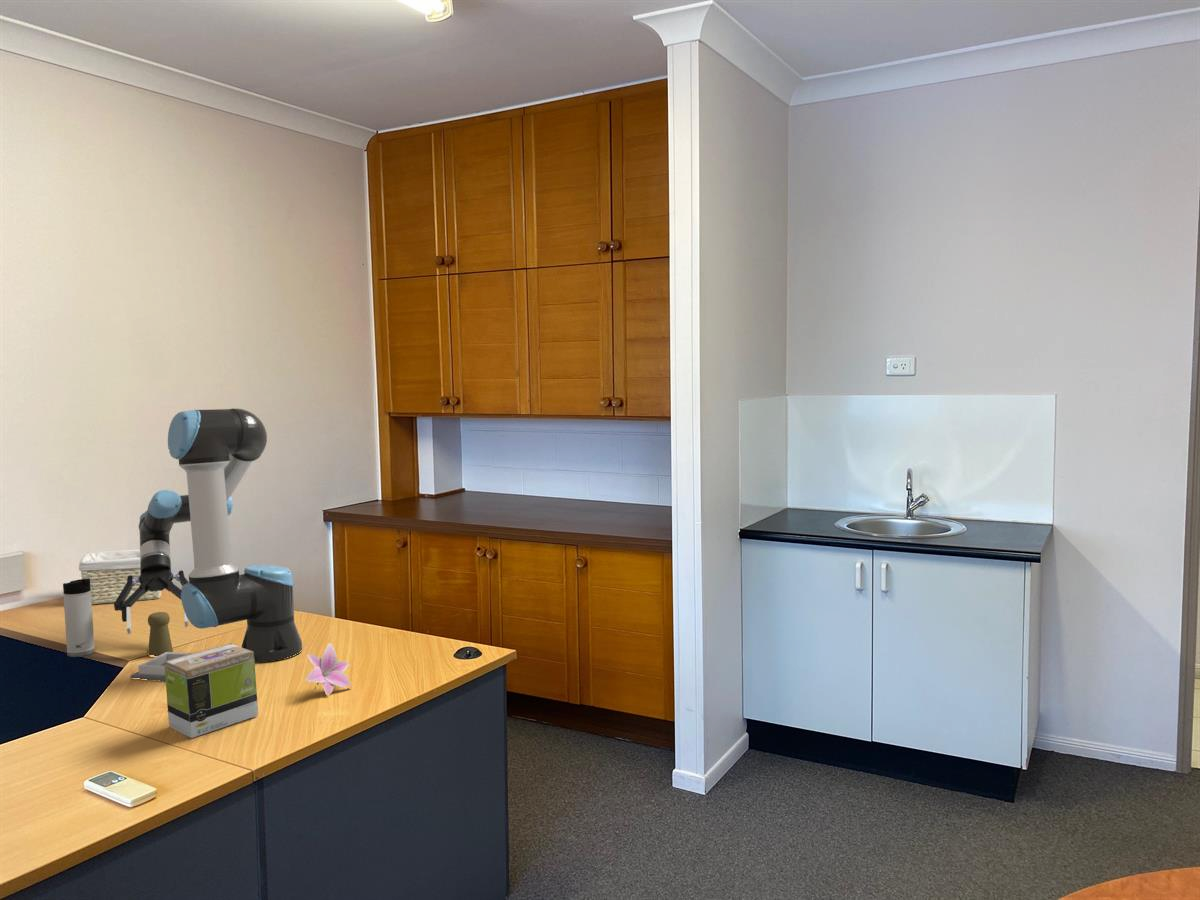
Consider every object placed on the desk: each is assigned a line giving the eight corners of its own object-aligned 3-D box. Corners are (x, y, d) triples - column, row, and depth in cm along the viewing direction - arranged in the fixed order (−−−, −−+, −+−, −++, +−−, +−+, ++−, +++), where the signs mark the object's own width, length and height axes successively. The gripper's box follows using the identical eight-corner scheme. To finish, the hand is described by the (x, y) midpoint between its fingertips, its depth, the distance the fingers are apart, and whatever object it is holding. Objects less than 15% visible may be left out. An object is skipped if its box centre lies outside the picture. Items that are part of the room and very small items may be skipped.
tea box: (235, 706, 198) (232, 641, 196) (259, 717, 191) (256, 650, 190) (167, 727, 186) (163, 659, 185) (190, 740, 180) (186, 669, 178)
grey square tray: (211, 664, 225) (211, 652, 225) (179, 682, 212) (178, 670, 212) (165, 661, 227) (165, 650, 227) (130, 679, 215) (130, 667, 214)
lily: (297, 706, 200) (313, 673, 197) (289, 671, 209) (305, 639, 207) (347, 710, 207) (363, 678, 204) (338, 677, 216) (353, 646, 213)
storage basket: (168, 588, 303) (165, 546, 302) (164, 600, 288) (162, 555, 287) (88, 595, 294) (85, 552, 293) (80, 608, 279) (77, 562, 278)
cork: (177, 649, 237) (175, 609, 236) (167, 657, 231) (164, 616, 230) (154, 650, 237) (152, 610, 236) (143, 657, 231) (141, 616, 230)
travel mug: (83, 658, 231) (78, 582, 229) (61, 656, 232) (56, 581, 230) (101, 650, 237) (96, 576, 235) (79, 648, 238) (75, 575, 236)
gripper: (204, 563, 254) (209, 628, 242) (105, 572, 243) (105, 641, 231) (204, 548, 249) (209, 614, 237) (102, 557, 238) (102, 626, 226)
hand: (157, 627), depth 234 cm, fingers open, 13 cm apart
